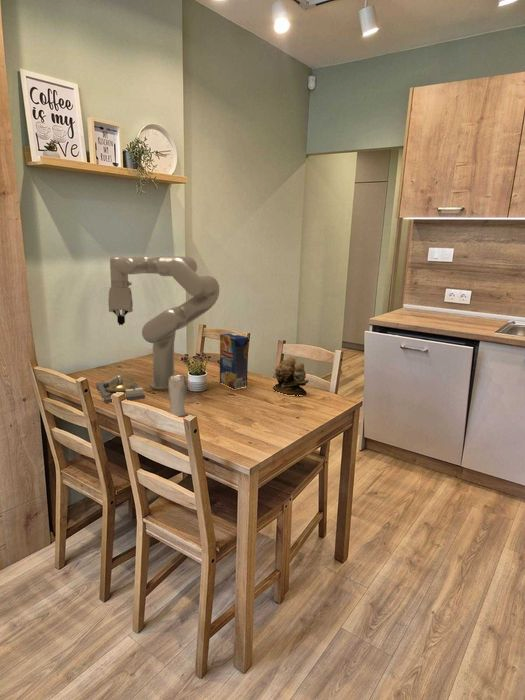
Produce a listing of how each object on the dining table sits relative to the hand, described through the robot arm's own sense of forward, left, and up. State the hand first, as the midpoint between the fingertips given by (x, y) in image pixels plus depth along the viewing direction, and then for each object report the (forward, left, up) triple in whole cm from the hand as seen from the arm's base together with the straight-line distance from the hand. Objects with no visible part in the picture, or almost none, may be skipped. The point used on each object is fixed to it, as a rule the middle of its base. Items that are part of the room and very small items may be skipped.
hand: (121, 324), depth 205 cm
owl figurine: (-78, +15, -27) cm, 84 cm away
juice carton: (-52, +7, -27) cm, 59 cm away
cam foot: (-1, +19, -25) cm, 32 cm away
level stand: (-2, +17, -27) cm, 32 cm away
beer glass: (-30, +43, -27) cm, 59 cm away
